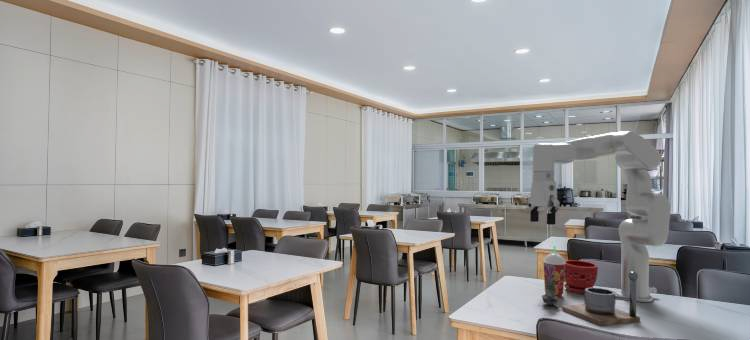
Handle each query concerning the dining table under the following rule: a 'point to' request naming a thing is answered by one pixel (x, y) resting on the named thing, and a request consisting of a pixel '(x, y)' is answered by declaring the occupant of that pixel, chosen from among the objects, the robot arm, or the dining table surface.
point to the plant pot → (580, 275)
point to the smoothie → (555, 271)
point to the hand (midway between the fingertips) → (542, 222)
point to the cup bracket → (606, 305)
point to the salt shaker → (550, 294)
